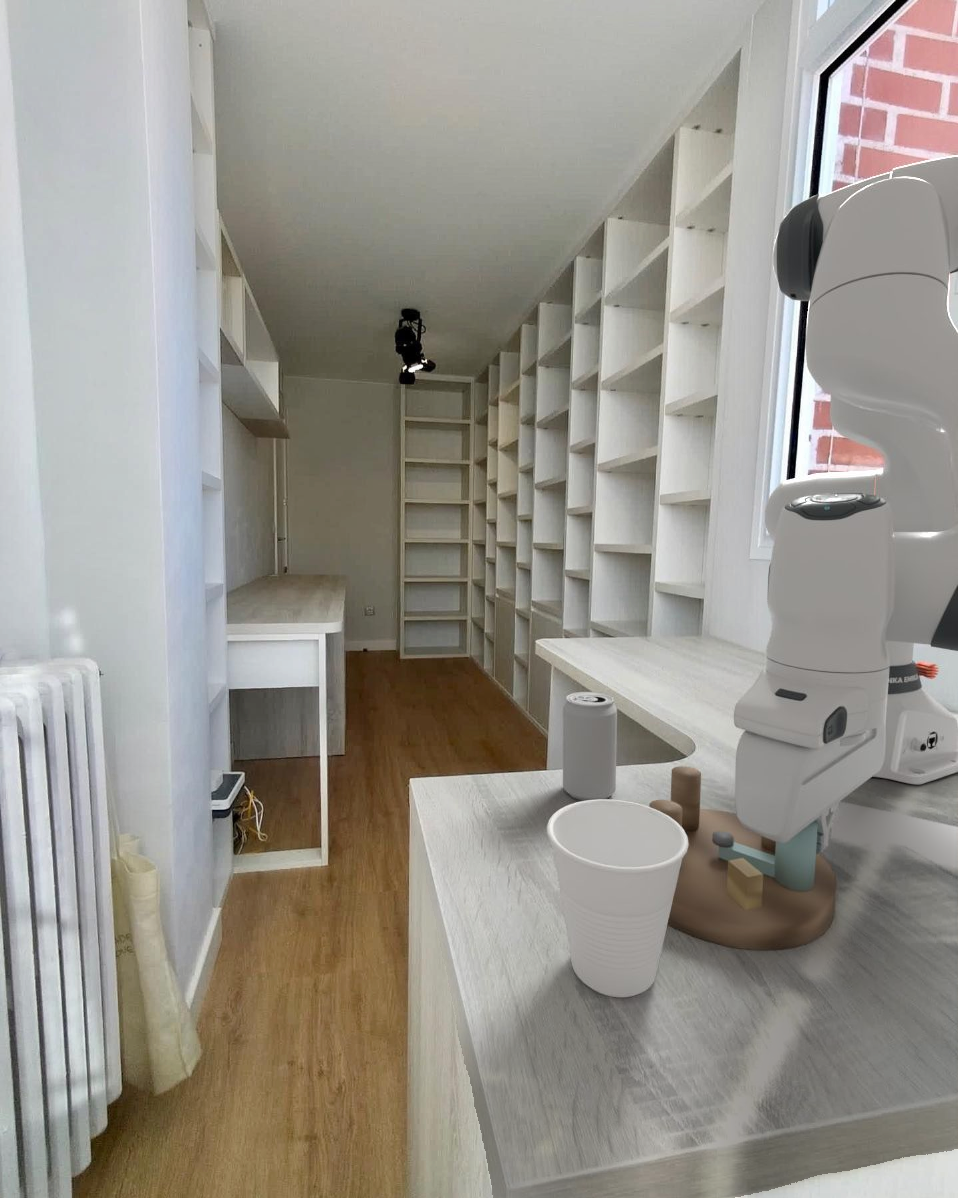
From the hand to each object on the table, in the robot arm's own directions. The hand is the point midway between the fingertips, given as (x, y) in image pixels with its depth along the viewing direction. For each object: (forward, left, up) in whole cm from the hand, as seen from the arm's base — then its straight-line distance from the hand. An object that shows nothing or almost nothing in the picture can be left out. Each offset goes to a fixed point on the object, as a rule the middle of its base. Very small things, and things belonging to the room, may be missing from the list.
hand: (814, 847), depth 52 cm
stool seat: (+6, -5, -5) cm, 9 cm away
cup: (+20, +3, -5) cm, 21 cm away
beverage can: (+10, -24, -5) cm, 27 cm away
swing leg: (+4, -2, -2) cm, 5 cm away
